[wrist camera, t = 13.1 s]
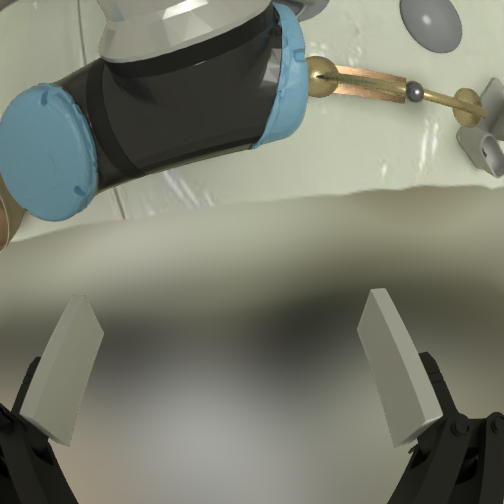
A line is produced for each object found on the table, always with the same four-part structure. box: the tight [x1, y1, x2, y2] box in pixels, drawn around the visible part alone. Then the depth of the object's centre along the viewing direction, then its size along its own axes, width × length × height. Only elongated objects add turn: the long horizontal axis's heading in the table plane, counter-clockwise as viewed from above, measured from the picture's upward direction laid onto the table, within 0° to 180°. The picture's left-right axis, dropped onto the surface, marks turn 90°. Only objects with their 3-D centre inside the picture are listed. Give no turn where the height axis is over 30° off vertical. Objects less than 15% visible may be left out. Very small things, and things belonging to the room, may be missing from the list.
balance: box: [305, 56, 488, 128], centre depth 27 cm, size 23×5×16 cm, turn 90°
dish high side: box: [400, 0, 462, 53], centre depth 26 cm, size 12×12×1 cm
